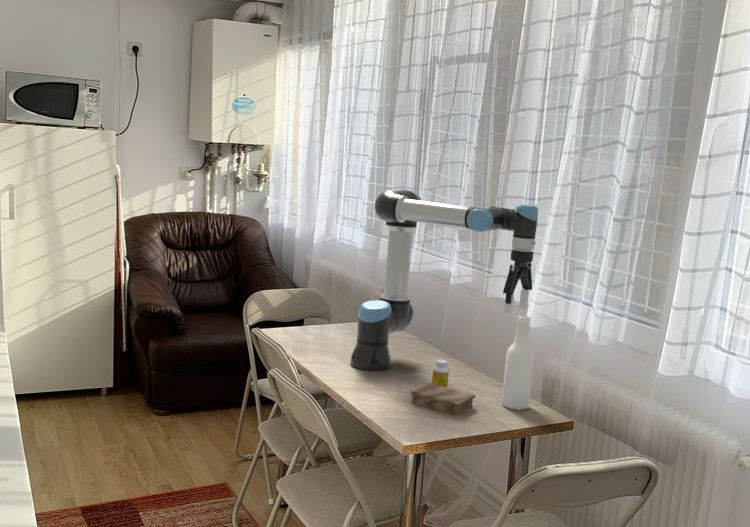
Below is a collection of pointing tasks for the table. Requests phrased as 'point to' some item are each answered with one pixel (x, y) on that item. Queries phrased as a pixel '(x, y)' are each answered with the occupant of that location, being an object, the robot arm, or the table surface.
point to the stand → (442, 399)
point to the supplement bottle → (440, 373)
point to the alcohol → (518, 368)
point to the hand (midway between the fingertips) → (515, 310)
